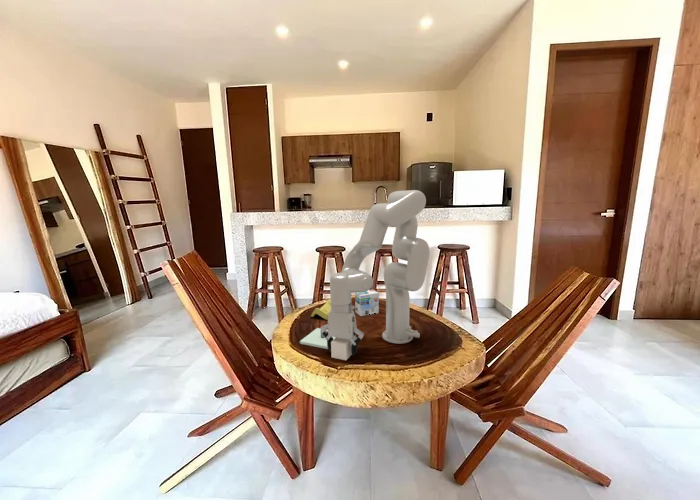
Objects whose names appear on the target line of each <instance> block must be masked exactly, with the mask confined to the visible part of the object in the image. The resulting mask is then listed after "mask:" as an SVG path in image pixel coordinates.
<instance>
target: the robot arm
mask: <svg viewBox="0 0 700 500" xmlns="http://www.w3.org/2000/svg"><path fill="white" fill-rule="evenodd" d="M426 204H427V198H426V195H425V194H424V193H423V192H422V191H420V190H417V189H411V190H397V191H392V192H391V193H390V194H389V195H387V202H386V203H385V202H384V203H375V204H373V205H372V206H371V207H370V209H369V211H368V214H367V217H366V221H365V224H364V225H363V229H362V232H361V235H360V238H359V241H358V242H357V243H356V244H355V245H354V246H353V247H352V249H351V250H350V251H349V252H348V254H347V255H346V257H345V259H344V262H343V265H342V268H341V271H340V272H335V273H332V274H331V275H330V277H329V292H330V297H329V299H331V309H330V311H329V316H328V320H327V323H326V324H324V325H322V326H320V328H321V331H322V332H323V335H324V336H325V338H326V340H327V347H328V349H327V351H330V352H331V342H332V341H333V337H337V338H342V339H349V340H350V341H351V342H352V345H351V352H352V355H351V356H353V357H354V356H355V354H357V353H358V343H360V342H361V341H362V340H363V338H364V336H365V333H364V332H363V331H361V330H360V329H359V328H357V319H356V315H355V311H354V310H355V305H353V303H352V294H355V293H361V292H366V291H368V290H372V287H373V285H374V279H373V277H372V275H371V274H369V273H368V272H367V271H363V270H360V267H361V265H362V263H363V261H364V260H365V258H367V257H368V256H370V255H371V254H373V253H375V252H377V251H379V250H380V249H381V248H382V246H383V243H384V240H385V237H386V234H387V231H388V228H395V232H394V236H393V242H392V246H391V253H392V256H393V257H394V258H396V259H397V260H401V261H405V262H407V264H406V263H403V262H398V261H397V262H396V261H394V262H390V263H388V264H387V265H386V266H385V267H384V270H383V282H384V285H385V286H384V287H385V330H384V331H382V335H381V337H382V339H383V340H384V341H385V342H387V343H391V344H398V345H402V344H407V343H410V342H411V341H412V340H413V339H414V338H418V339H419V338H420V332H419V331H418V330H414V329H412V325H410V297H411V296H410V293H409V292H418V291H419V290H420V289H421V288H422V287H423V285H424V283H425V280H426V275H427V270H428V265H429V261H430V253H431V252H430V246H429V244H428V242H427V241H426V240H425V239H424V238H421V237H420V238H419V237H417V234H418V225H419V224H418V219H417V217H416V216H417V215H418V214H420V213H421V212H422V211H423V210H424V208H425V207H426ZM326 330H328V332H327V331H326ZM356 335H358V337H357V336H356Z"/></svg>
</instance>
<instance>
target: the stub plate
mask: <svg viewBox="0 0 700 500" xmlns="http://www.w3.org/2000/svg"><path fill="white" fill-rule="evenodd" d="M326 331H327V332H328V329H326ZM335 338H336V337H333V340H334V339H335ZM299 344H301V345H306V346H309V347H314V348H315V347H316V348H320V349H325V350H328V347H327V340H326V338H325V336H324V335H323V332H322V331H321V327H320V328H319V327H316V328H315V329H313V330H312V331H311V332H310V333H309V334H308V335H306V336H305V337H303V338H301V340H299Z"/></svg>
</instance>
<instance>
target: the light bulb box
mask: <svg viewBox="0 0 700 500" xmlns="http://www.w3.org/2000/svg"><path fill="white" fill-rule="evenodd" d="M379 294H380V293H379V292H377V291H376V290H375V289H370V290H368V291H366V292H361V293H354V303H355V304H354V306H355V309H354V310H355V311H354V313H356V314H357V315H359V316H360V317H363V316H370V315H375V314H374V313H376V314H379V313H380V312H379V308H380V307H379V297H380V296H379ZM369 314H370V315H369Z"/></svg>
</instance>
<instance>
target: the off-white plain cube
mask: <svg viewBox="0 0 700 500" xmlns="http://www.w3.org/2000/svg"><path fill="white" fill-rule="evenodd" d="M351 345H352V342H351V341H350V340H349V339H342V338H337V337H336V338H335V339H334V340H333V341H332V342H331V350H330V353H331V358H332V359H333V358H334V359H338V360H342V361H347V360H348V359H350V357H351V356H353V355H352V352H351Z"/></svg>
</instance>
